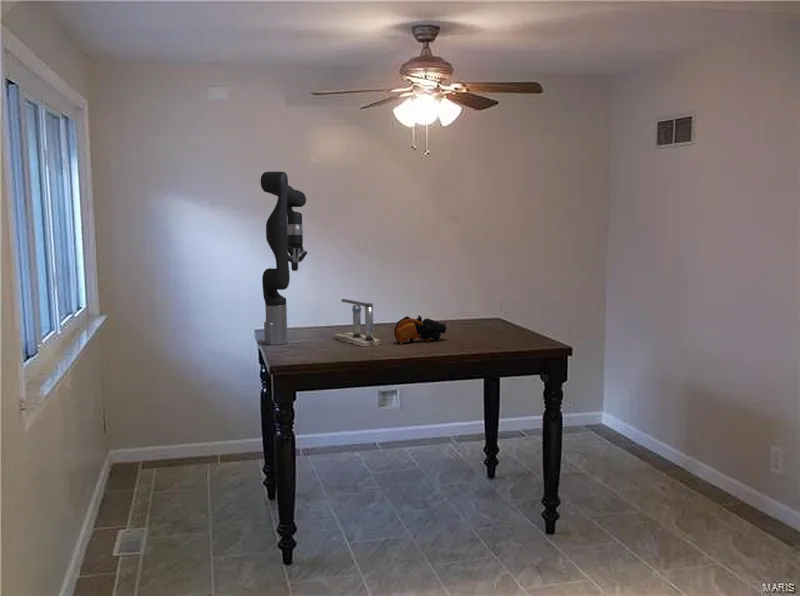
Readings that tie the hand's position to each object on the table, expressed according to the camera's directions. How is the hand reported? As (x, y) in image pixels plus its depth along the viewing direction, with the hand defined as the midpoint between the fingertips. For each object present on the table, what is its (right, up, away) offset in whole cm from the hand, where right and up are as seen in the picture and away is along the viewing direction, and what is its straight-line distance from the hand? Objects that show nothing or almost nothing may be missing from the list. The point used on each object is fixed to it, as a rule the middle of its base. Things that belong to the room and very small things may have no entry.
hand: (294, 270), depth 364 cm
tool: (+59, -33, -23) cm, 71 cm away
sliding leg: (+31, -30, -21) cm, 48 cm away
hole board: (+31, -32, -21) cm, 50 cm away
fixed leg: (+31, -30, -21) cm, 48 cm away
